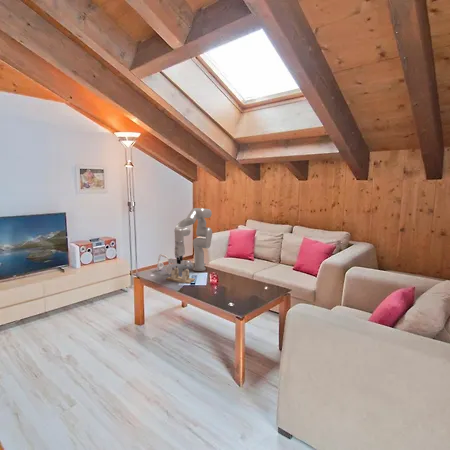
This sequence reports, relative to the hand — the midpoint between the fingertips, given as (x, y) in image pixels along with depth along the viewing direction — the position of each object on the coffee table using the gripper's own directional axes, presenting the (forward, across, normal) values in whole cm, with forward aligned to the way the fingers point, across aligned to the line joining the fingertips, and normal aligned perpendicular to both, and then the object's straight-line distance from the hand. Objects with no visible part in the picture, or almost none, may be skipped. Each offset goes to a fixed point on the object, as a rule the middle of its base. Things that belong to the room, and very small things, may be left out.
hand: (179, 263), depth 288 cm
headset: (+16, +13, +26) cm, 33 cm away
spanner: (0, 0, 0) cm, 1 cm away
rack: (+16, 0, 0) cm, 16 cm away
